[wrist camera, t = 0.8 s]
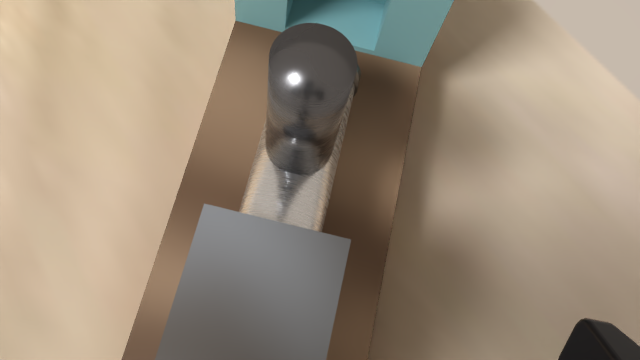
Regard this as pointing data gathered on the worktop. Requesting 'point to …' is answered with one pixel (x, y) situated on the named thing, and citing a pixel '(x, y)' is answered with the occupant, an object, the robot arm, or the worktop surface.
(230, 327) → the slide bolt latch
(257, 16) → the socket block
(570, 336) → the robot arm
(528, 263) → the worktop surface
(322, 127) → the slip tube
